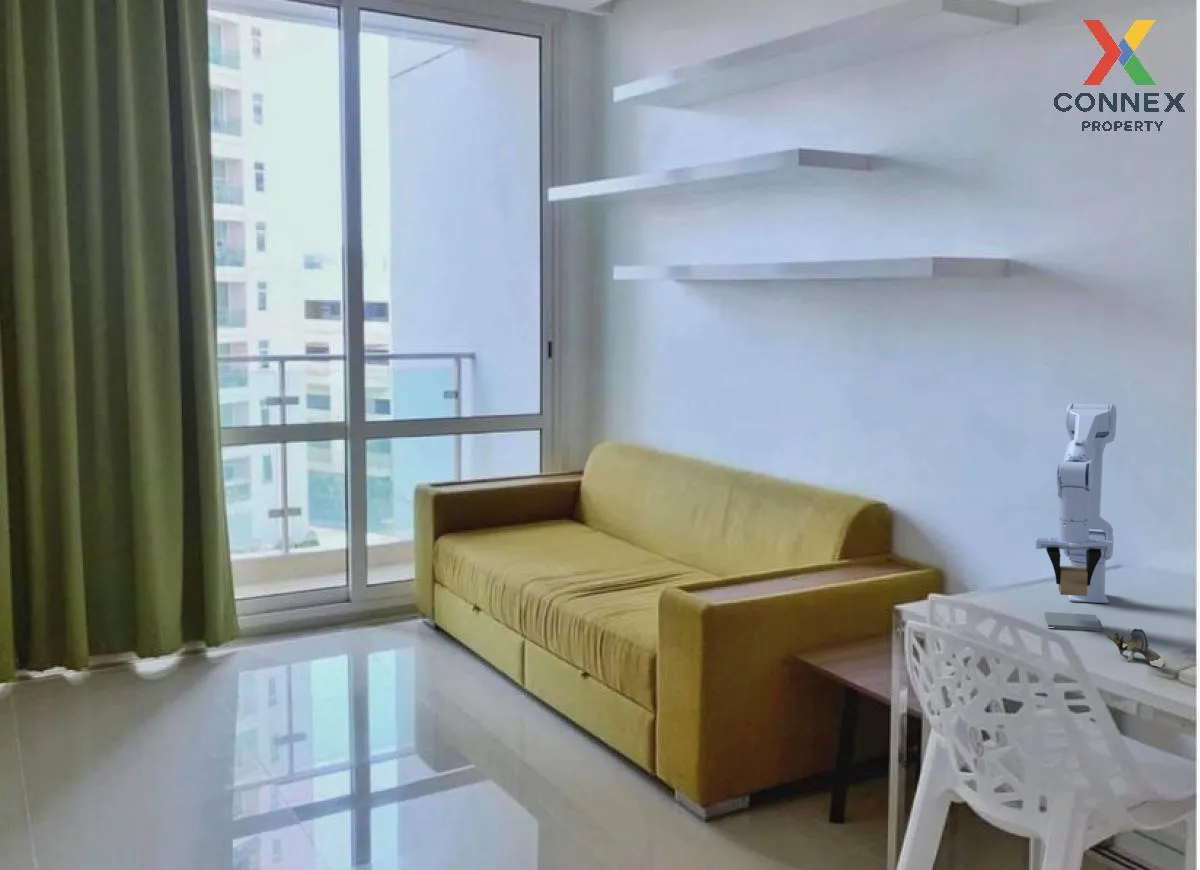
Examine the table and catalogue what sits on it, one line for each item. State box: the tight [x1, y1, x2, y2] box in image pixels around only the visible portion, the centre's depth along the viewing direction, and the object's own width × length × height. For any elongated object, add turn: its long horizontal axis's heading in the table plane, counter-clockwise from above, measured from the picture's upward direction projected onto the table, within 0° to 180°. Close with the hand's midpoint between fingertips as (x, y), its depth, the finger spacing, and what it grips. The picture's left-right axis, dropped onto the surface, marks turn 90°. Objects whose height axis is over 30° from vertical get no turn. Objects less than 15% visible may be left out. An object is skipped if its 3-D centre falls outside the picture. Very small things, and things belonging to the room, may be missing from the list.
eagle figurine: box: [1105, 628, 1162, 663], centre depth 203 cm, size 8×7×9 cm
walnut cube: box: [1058, 565, 1087, 596], centre depth 227 cm, size 5×5×5 cm
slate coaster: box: [1044, 611, 1102, 632], centre depth 228 cm, size 10×10×1 cm
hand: (1072, 583), depth 227 cm, fingers closed on walnut cube, 5 cm apart
